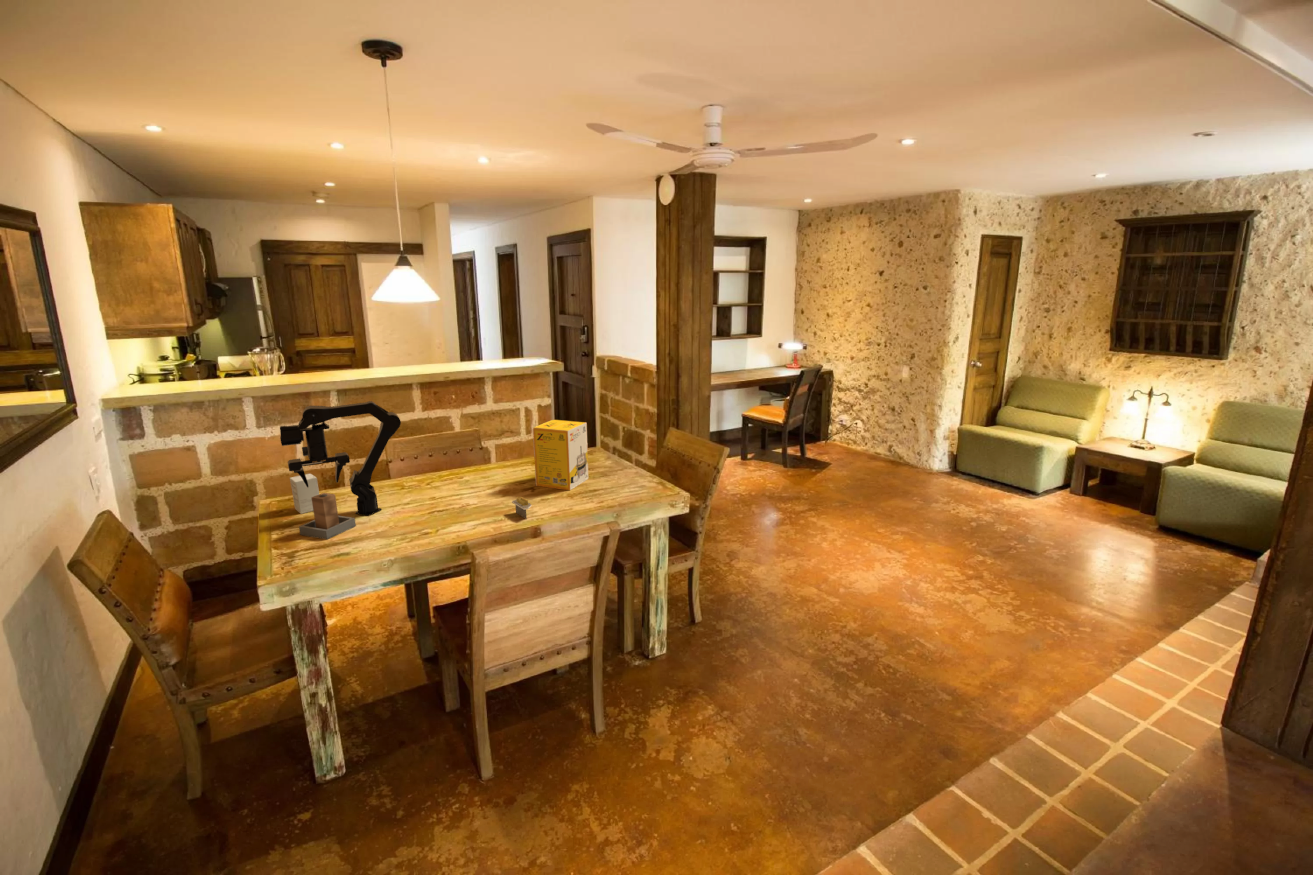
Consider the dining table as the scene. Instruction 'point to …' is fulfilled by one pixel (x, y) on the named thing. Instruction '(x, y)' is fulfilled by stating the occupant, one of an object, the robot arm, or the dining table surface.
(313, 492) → the supplement box
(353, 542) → the dining table surface
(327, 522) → the block
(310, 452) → the robot arm
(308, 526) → the tray
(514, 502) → the platform
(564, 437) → the packaging box
